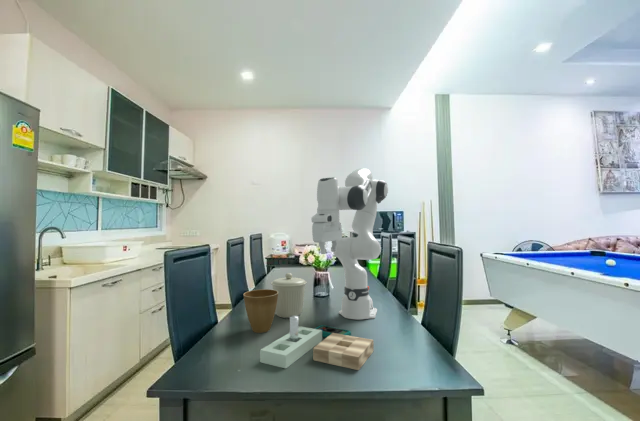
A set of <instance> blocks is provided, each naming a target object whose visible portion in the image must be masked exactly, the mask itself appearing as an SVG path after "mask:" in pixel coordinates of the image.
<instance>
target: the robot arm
mask: <svg viewBox="0 0 640 421" xmlns="http://www.w3.org/2000/svg"><path fill="white" fill-rule="evenodd" d="M344 185H345V186H342V187H341V186H339V183H338V179H337V177H335V176H334V177H323V178H320V179H319V180H318V183H317V188H316V201H317V209H316V214H314V215H312V217H311V223H312V226H311V230H312V231H311V232H312V240H313V242H314V243H316V244H317V243H318V246H319V249H320V254H321V255H325V254H327V249H326V246H325V245H326V243H329V242H331V247H330V252H332V253H333V254H334V256H335V257H336V258H337V259H338V260H339V262H340V263H341V264H342V268H343V271H344V281H345V282H344V284H345V285H344V289H343V290H344V292H343V293H344V295H343V296H342V298H341V310H339V311H338V314H340V315H341V316H342V317H344V318H345V319H349V320H358V321H359V320H367V319H368V320H369V319H376V316H377V313H378V308H376V307H374V302H373V299H372V297H371V296H370V292H369V290H370V286H369V285H368V272H367V270H366V269H365V268H364V267H363V266H361V265H360V264H359V261H358V260H363V261H364V260H365V261H369V260H376V259H378V258H379V256H380V255H381V251H382V249H381V248H382V247H381V244H380V242H379V240H377V239H376V238H375V236H374V232H373V230H374V227H375V226H374V225H375V221H376V218H377V213H378V204H380V203H381V202H382V201H384V200H385V199H386V198H387V196H388V193H389V187H388V182H386V181H385V180H382V179H373V173H372V171H370V170H369V169H368V168H358V169H356V170H353V171H352V172H350V173H349V174H348V175H347V176H346V178H345V180H344ZM350 210H352V211H353V210H354V211H355V213H354V217H353V220H352V224H351V228H352V230H353V232H354V233H355V234H357V236H356V237H355V236H354V237H349V236H348V237H347V236H344V237H343V231H342V230H343V229H342V223H341V222H340V211H350Z"/></svg>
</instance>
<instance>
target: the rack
mask: <svg viewBox="0 0 640 421" xmlns="http://www.w3.org/2000/svg"><path fill="white" fill-rule="evenodd" d="M322 341H323V337H322V330H318V329H315V328H311V327H305V326H298V341H297V342H291V341H290V332H288V333H287V334H285V335H283V336H282V337H280V338H278V339H276V340H275V341H273V342H271V343H269V344H268V345H266V346H264V347H263V348H261V349H260V350H259V358H260V359H259V363H263V364H265V365H270V366H274V367H277V368H282V369H287V368H289V367H290V366H291V365H292V364H294V363H295V362H296V361H297V360H299V359H300V358H302V357H303V356H304V355H305V354H307V353H308V352H310V351H311V350H313V348H314V347H315V346H316V345H318V344H319V343H320V342H322Z"/></svg>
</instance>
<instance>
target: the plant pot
mask: <svg viewBox="0 0 640 421" xmlns="http://www.w3.org/2000/svg"><path fill="white" fill-rule="evenodd" d="M277 300H278V291H276V290H273V289H269V288H268V289H266V288H265V289H264V288H263V289H262V288H261V289H254V290H250V291H246V292H244V293H243V302H244V308H245V312H246V315H247V319H248V321H249V322H248V323H249V325H250V327H251V330H252V332H253V333H256V334H264V333H267V332H269V331H270V330H271V328H272V324H273V322H274V318H275V315H276V313H275V311H276V306H277Z"/></svg>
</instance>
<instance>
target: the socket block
mask: <svg viewBox="0 0 640 421" xmlns="http://www.w3.org/2000/svg"><path fill="white" fill-rule="evenodd" d="M374 345H375V343H374V339H370V338H365V337H359V336H353V335H351V336H348V335H342V334H336V333H332V334H331V335H329V336H328V337H327V338H325V337H324V339H322V341H321V342H320V343H318V344H317V345H316V346H314V347H313V348H312V357H313V358H312V359H313V360H312V361H315V362H319V363H325V364H329V365H334V366H338V367H340V368H341V367H343V368H347V369H352V370H355V371H360V369H361V368H362V367H363V366H364V365H365V363H366V362H367V360H368V359H369V358H370V357H371V355H372V354H373V352H374V351H375V350H374V347H375V346H374Z"/></svg>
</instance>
